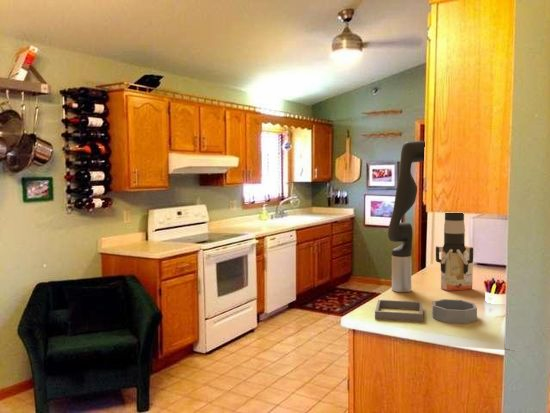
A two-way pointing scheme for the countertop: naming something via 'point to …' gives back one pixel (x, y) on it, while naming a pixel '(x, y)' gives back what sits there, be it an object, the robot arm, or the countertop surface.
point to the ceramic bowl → (454, 311)
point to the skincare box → (454, 269)
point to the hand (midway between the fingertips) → (454, 273)
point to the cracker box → (467, 277)
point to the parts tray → (399, 315)
